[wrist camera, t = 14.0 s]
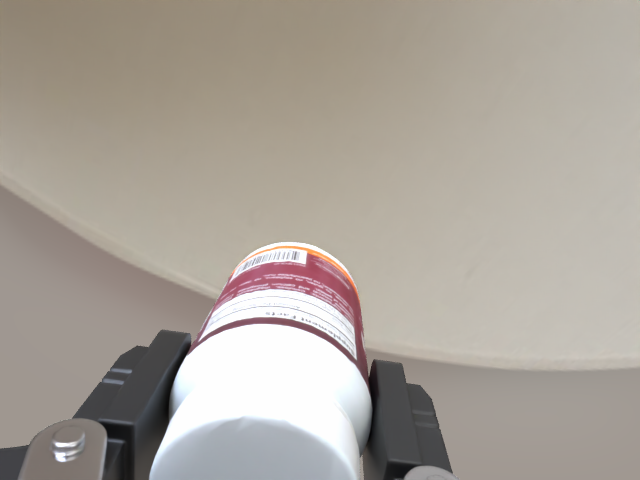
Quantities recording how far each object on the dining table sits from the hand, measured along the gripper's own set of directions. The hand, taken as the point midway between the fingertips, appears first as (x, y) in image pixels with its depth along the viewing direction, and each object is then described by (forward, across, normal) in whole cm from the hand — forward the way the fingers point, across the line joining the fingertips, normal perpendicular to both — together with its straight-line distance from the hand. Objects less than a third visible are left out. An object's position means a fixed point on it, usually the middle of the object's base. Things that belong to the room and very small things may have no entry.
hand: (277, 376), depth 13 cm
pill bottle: (+5, 0, 0) cm, 5 cm away
